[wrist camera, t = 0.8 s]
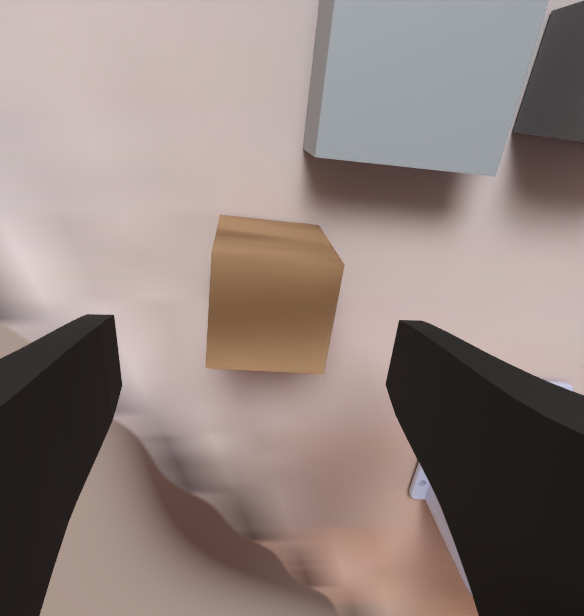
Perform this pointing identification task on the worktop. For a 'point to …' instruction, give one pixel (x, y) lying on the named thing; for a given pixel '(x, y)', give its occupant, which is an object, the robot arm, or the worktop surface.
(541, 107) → the charcoal block
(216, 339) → the walnut block
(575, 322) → the worktop surface
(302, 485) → the worktop surface
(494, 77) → the slate base block
